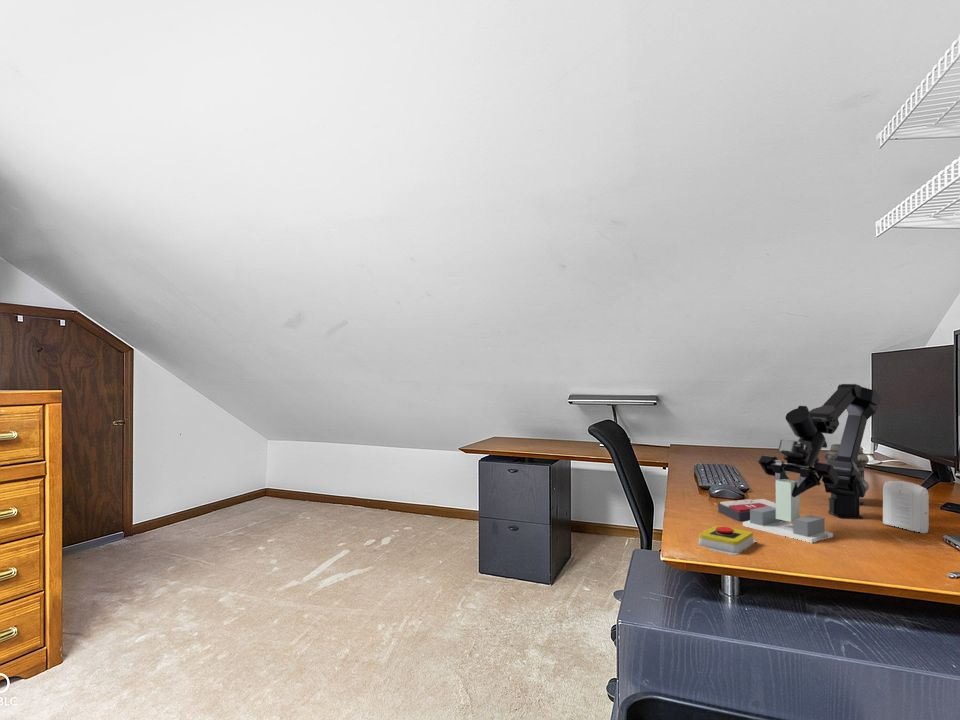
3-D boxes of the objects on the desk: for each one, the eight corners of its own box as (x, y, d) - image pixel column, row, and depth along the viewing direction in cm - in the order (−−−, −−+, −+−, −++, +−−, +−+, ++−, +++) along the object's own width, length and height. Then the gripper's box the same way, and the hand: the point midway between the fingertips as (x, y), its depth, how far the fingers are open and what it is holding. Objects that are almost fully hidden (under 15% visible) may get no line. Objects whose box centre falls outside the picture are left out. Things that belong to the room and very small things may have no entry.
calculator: (717, 500, 167) (764, 496, 169) (717, 515, 167) (764, 511, 169) (738, 509, 156) (788, 505, 158) (739, 525, 156) (789, 520, 158)
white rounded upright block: (932, 532, 146) (931, 484, 147) (922, 534, 145) (921, 485, 145) (889, 522, 156) (889, 477, 156) (880, 524, 154) (879, 478, 154)
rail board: (742, 525, 152) (742, 508, 152) (764, 520, 157) (764, 504, 157) (811, 543, 136) (811, 524, 136) (833, 537, 142) (832, 518, 142)
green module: (784, 516, 150) (784, 478, 150) (799, 520, 146) (799, 481, 147) (775, 518, 148) (775, 480, 148) (790, 522, 144) (790, 482, 145)
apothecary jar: (855, 508, 173) (854, 448, 173) (816, 500, 183) (815, 444, 184) (877, 504, 178) (876, 446, 179) (838, 496, 189) (837, 442, 189)
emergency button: (694, 530, 133) (718, 518, 144) (694, 549, 133) (718, 535, 144) (735, 538, 127) (757, 525, 138) (735, 558, 127) (757, 543, 138)
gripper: (762, 425, 158) (738, 469, 152) (832, 432, 142) (809, 480, 136) (778, 452, 162) (755, 495, 156) (848, 461, 146) (826, 509, 140)
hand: (784, 494), depth 147 cm, fingers closed on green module, 4 cm apart
